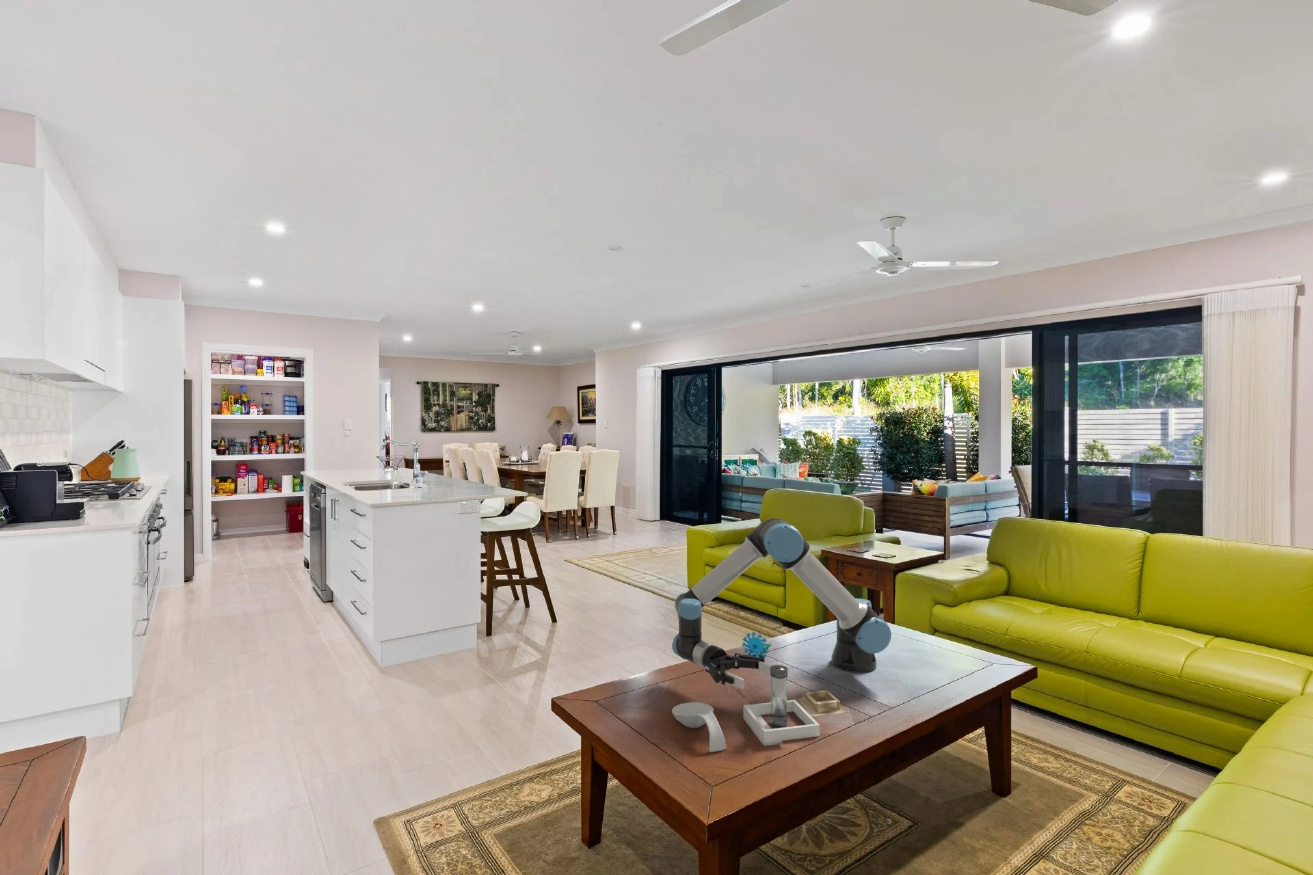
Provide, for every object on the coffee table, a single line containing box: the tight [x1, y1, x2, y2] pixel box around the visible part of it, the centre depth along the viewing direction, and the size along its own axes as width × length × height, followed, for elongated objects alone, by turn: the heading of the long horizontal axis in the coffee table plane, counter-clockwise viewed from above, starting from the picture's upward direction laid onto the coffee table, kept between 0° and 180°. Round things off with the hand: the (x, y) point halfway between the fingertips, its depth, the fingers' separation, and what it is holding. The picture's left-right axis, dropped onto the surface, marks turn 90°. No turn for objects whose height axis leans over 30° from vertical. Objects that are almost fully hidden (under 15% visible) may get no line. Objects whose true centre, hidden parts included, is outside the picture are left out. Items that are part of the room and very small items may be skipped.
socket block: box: [794, 689, 850, 717], centre depth 193 cm, size 12×12×4 cm
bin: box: [742, 699, 821, 747], centre depth 180 cm, size 16×16×4 cm
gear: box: [742, 631, 772, 658], centre depth 238 cm, size 11×6×10 cm
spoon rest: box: [671, 701, 727, 753], centre depth 179 cm, size 24×12×7 cm, turn 20°
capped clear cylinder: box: [769, 664, 789, 729], centre depth 181 cm, size 5×5×16 cm
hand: (760, 678), depth 186 cm, fingers open, 13 cm apart
